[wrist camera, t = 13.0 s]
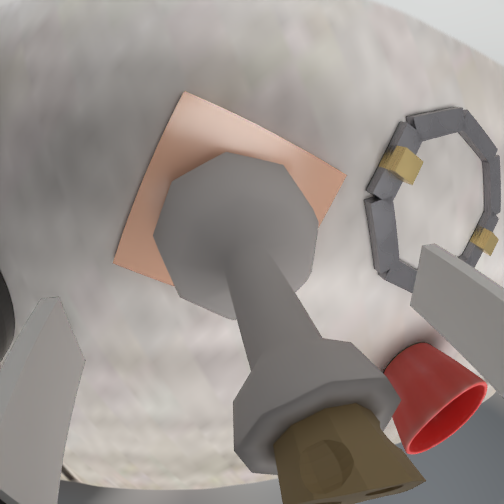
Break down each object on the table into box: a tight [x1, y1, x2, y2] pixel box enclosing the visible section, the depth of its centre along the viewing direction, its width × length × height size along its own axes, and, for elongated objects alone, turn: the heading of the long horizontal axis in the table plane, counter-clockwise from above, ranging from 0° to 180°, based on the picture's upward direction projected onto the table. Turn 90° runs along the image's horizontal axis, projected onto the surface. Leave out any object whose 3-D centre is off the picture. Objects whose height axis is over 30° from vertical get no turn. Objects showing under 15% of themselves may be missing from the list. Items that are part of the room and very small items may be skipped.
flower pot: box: [384, 343, 487, 454], centre depth 28 cm, size 11×11×10 cm
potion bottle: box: [153, 152, 426, 504], centre depth 12 cm, size 9×9×18 cm
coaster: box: [113, 91, 347, 286], centre depth 20 cm, size 12×12×1 cm
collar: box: [364, 107, 501, 293], centre depth 23 cm, size 17×17×2 cm
